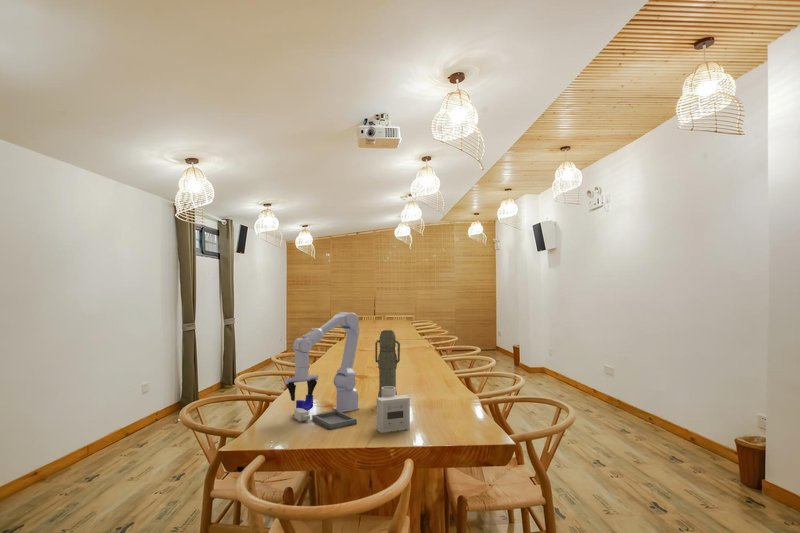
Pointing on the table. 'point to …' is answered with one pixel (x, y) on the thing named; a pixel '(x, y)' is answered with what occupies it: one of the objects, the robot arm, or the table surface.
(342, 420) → the tray
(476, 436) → the table surface
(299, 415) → the connector
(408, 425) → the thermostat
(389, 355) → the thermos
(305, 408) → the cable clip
